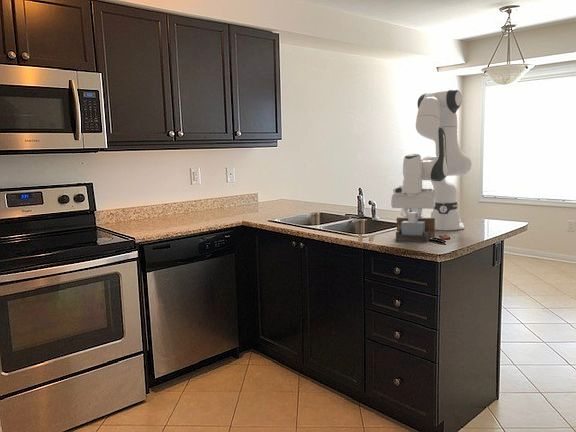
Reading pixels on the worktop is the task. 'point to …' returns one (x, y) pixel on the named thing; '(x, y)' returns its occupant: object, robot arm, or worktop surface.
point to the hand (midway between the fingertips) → (413, 217)
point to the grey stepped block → (413, 225)
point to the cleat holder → (415, 238)
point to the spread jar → (409, 211)
